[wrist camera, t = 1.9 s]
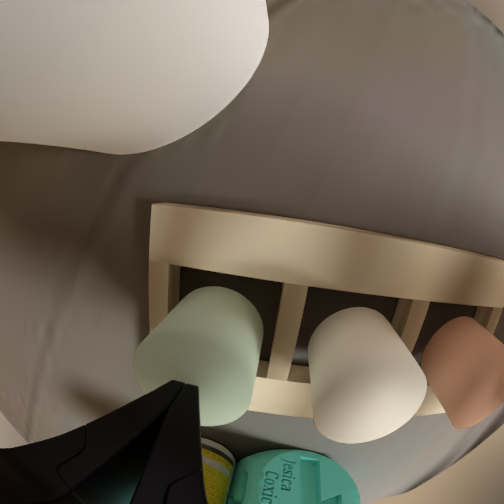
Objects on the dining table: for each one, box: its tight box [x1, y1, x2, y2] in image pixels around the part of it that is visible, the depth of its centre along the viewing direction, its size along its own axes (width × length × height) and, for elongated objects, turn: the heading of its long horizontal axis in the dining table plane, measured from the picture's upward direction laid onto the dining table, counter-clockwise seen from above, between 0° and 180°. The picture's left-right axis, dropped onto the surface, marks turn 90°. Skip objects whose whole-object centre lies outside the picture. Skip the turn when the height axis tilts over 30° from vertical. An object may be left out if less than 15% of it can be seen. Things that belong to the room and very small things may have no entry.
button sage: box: [133, 286, 264, 426], centre depth 10 cm, size 4×4×4 cm
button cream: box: [308, 307, 427, 443], centre depth 9 cm, size 4×4×4 cm
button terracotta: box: [421, 316, 504, 429], centre depth 9 cm, size 4×4×4 cm
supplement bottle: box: [201, 437, 235, 504], centre depth 12 cm, size 5×5×10 cm
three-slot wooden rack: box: [149, 203, 504, 418], centre depth 12 cm, size 19×10×2 cm, turn 83°
